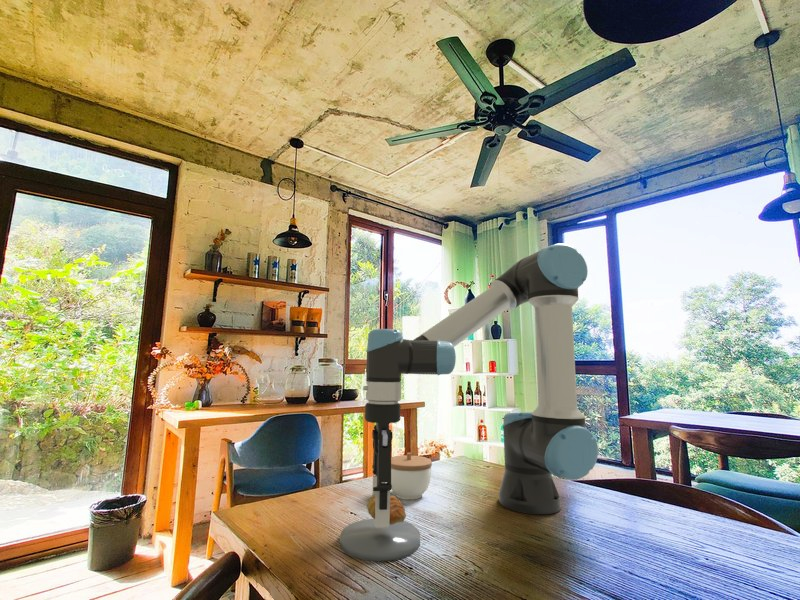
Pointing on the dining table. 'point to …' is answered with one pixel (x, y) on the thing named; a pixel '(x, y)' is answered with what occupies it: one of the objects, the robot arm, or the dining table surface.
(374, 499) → the pastry
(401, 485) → the lidded bowl
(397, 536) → the grey rounded puck
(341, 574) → the dining table surface
